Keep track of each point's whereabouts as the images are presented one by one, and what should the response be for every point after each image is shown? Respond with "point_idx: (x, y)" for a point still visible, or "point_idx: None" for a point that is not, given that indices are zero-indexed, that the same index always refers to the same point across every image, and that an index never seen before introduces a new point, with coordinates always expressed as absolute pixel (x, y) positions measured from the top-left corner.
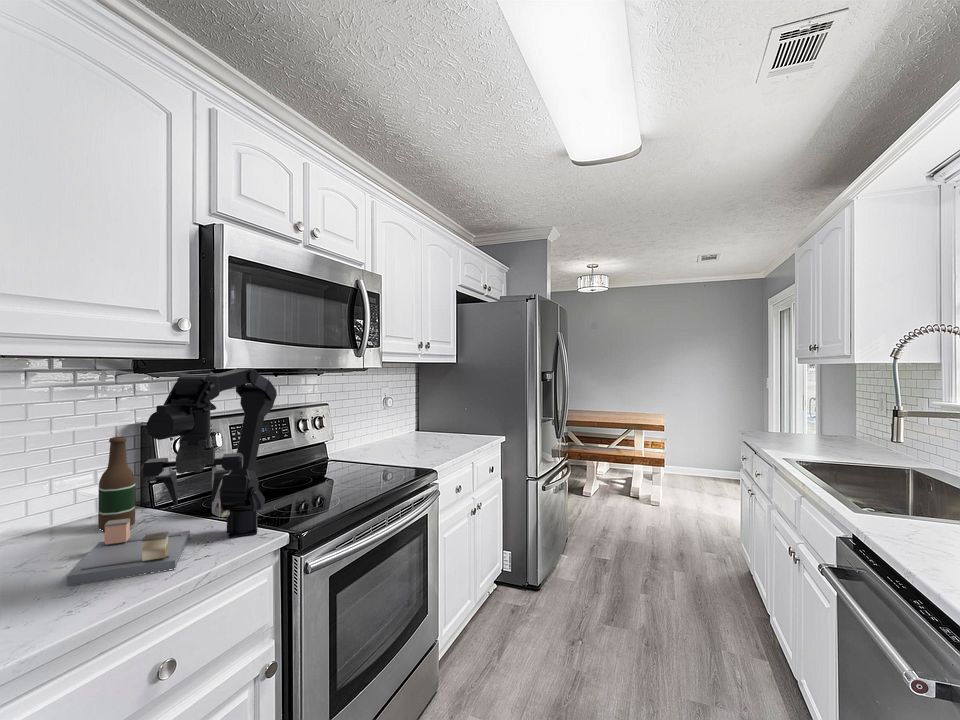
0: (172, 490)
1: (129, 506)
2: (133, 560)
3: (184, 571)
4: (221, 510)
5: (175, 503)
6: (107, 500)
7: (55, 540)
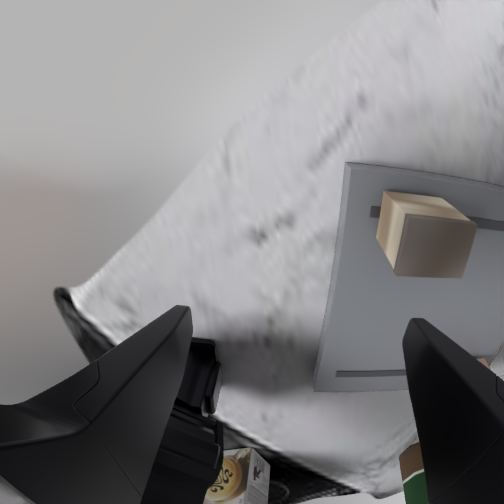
0: (484, 385)
1: (416, 479)
2: None
3: (316, 134)
4: (248, 460)
5: (423, 324)
6: None
7: None
